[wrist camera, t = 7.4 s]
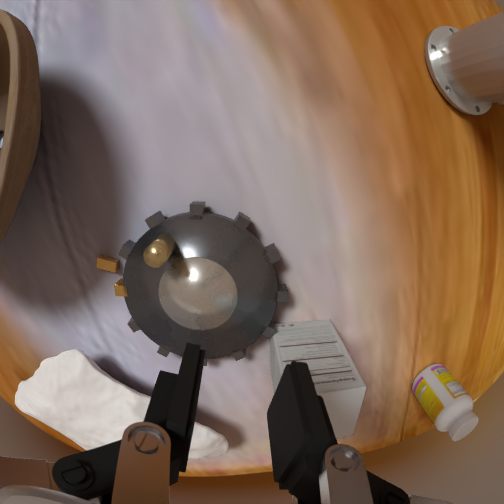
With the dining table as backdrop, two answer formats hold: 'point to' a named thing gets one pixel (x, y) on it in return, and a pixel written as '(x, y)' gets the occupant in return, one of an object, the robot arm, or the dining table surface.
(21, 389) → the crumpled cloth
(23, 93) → the flower pot
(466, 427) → the supplement bottle
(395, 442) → the dining table surface
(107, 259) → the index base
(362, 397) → the supplement box
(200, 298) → the sprocket disc
